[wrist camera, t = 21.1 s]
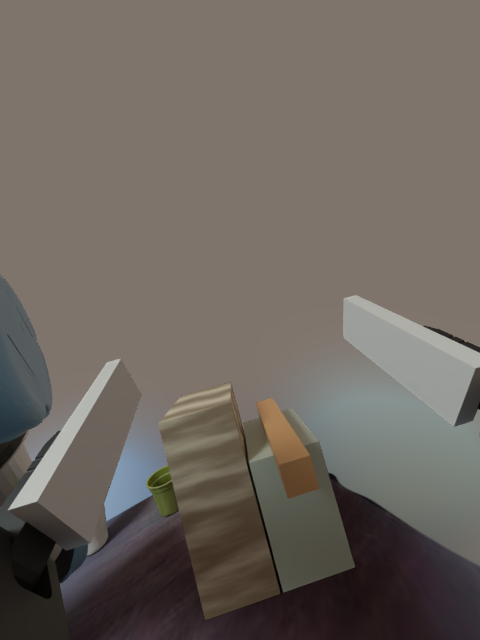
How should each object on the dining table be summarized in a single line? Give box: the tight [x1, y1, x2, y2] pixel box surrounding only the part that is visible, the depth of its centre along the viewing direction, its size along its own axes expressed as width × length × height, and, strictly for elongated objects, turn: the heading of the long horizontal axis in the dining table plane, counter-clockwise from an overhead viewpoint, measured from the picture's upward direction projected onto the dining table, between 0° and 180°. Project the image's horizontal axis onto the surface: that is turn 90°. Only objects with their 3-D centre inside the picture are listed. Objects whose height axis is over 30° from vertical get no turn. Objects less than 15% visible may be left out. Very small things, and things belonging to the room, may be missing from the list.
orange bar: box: [256, 398, 320, 499], centre depth 37 cm, size 24×4×4 cm, turn 3°
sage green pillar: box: [244, 408, 355, 593], centre depth 42 cm, size 16×12×20 cm
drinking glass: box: [87, 505, 108, 556], centre depth 52 cm, size 7×7×15 cm
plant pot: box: [146, 465, 179, 516], centre depth 58 cm, size 9×9×9 cm
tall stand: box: [158, 382, 281, 620], centre depth 41 cm, size 16×12×30 cm
